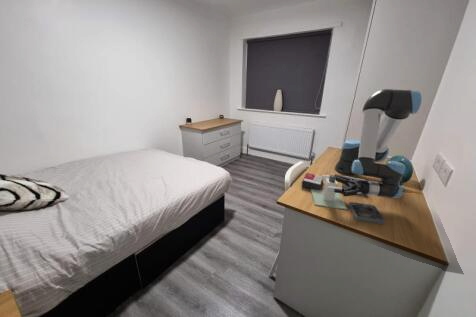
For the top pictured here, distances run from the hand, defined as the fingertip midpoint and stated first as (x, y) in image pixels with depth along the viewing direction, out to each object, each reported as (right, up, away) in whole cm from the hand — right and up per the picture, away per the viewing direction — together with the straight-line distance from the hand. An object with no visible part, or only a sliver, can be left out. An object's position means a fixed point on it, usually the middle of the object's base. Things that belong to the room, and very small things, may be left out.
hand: (324, 182), depth 108 cm
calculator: (0, -3, +19) cm, 19 cm away
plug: (+3, -9, +3) cm, 10 cm away
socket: (+17, -15, -8) cm, 24 cm away
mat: (+3, -10, +3) cm, 11 cm away
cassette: (+24, -6, +15) cm, 29 cm away
